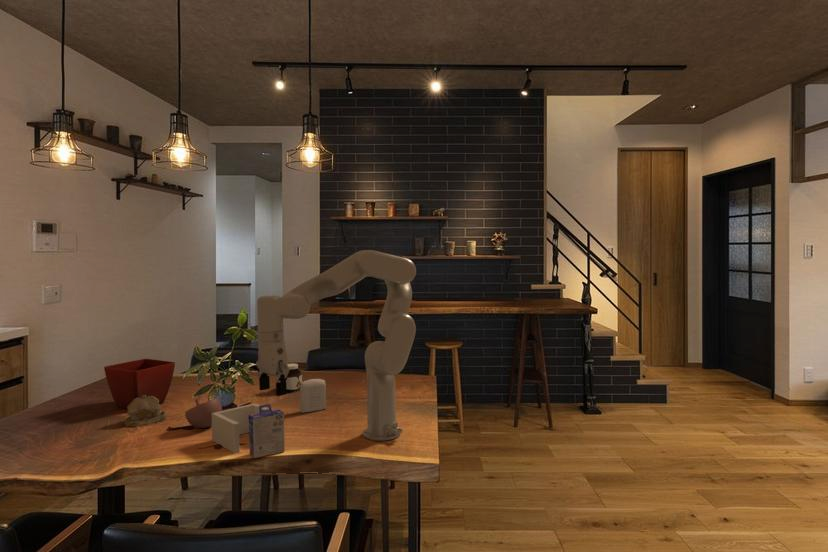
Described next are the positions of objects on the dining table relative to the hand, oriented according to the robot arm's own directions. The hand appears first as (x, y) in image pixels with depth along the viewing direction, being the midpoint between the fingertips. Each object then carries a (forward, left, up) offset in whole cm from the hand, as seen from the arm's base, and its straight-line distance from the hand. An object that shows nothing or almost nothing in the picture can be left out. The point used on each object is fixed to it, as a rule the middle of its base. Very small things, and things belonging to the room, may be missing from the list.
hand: (272, 392), depth 152 cm
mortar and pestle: (+40, +4, -19) cm, 45 cm away
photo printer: (+28, -34, -19) cm, 48 cm away
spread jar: (+63, -45, -19) cm, 80 cm away
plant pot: (+87, +10, -19) cm, 90 cm away
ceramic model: (+63, +17, -19) cm, 68 cm away
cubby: (+17, 0, -19) cm, 26 cm away
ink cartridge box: (+2, +1, -19) cm, 19 cm away
